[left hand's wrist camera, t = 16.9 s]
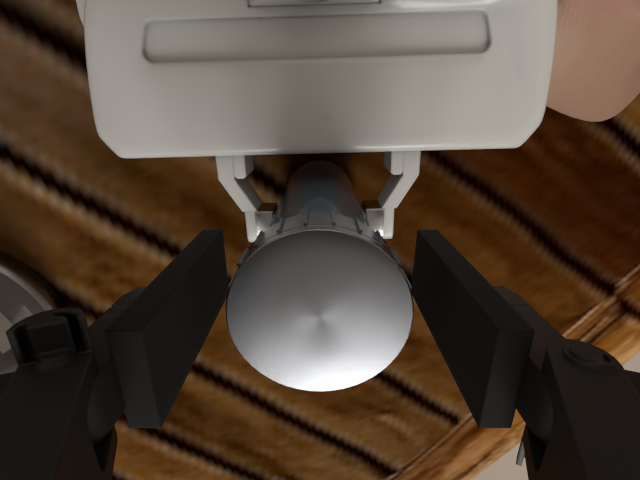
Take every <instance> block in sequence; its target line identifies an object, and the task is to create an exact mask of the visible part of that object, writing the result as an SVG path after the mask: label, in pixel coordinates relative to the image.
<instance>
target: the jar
mask: <svg viewBox="0 0 640 480" xmlns="http://www.w3.org/2000/svg"><path fill="white" fill-rule="evenodd" d="M305 211H308V212H309V213H313V212H327V213H331V211H334V212H335V214H340V215H344V216H347V217H350V218H353V219H355V218H356V217H357V218H359V220H360V222H362V223H363V224H365V225H367V226H368V227H370V228H371V226H370V224H369V221H368V219H367V217H366V214H365V212H364V210H363V208H362V205H361V203H360V201H359V198H358V196H357V194H356V191H355V189H354V187H353V185H352V182H351V180H350V178H349V176H348V175H347V173H346V172H345V171H344V170H343V169H342V168H341V167H339V166H338V165H336V164H334V163H332V162H329V161H323V160H317V161H311V162H308V163H306V164H304V165H302V166H301V167H299V168H298V169H297V170H296V171H295V172H294V173H293V174H292V176H291V178H290V180H289V182H288V184H287V187H286V189H285V191H284V194H283V196H282V198H281V200H280V203H279V205H278V207H277V209H276V212H275V214H274V216H273V219H272V221H271V223H270V225H269V228H270V227H271V226H273V225H274V224H276V223H278V222H279V221H280V218H284V219H287V218H289V217H292V216H295V215H300V214H304V213H305ZM371 229H372V228H371Z"/></svg>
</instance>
